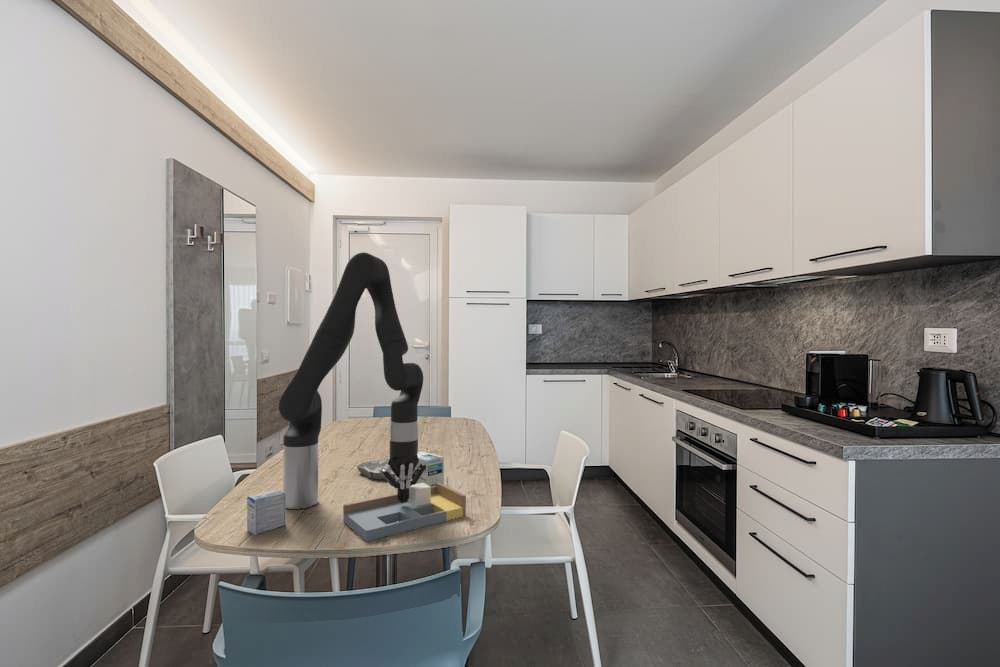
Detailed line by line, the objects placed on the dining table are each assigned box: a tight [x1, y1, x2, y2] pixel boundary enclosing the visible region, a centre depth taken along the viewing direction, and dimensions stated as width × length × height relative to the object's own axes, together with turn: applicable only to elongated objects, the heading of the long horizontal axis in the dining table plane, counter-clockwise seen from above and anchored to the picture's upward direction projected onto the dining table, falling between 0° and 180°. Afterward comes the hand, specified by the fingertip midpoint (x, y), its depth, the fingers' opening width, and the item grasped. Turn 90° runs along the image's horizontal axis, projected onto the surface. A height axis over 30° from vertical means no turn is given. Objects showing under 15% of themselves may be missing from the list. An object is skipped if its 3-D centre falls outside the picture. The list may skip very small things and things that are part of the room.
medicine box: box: [246, 488, 287, 536], centre depth 129 cm, size 8×4×9 cm, turn 141°
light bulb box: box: [412, 451, 445, 487], centre depth 160 cm, size 11×7×11 cm, turn 47°
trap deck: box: [342, 482, 467, 542], centre depth 136 cm, size 15×28×6 cm, turn 127°
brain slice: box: [356, 458, 396, 481], centre depth 177 cm, size 20×17×3 cm
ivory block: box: [408, 483, 431, 506], centre depth 141 cm, size 4×4×4 cm
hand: (403, 501), depth 138 cm, fingers closed
